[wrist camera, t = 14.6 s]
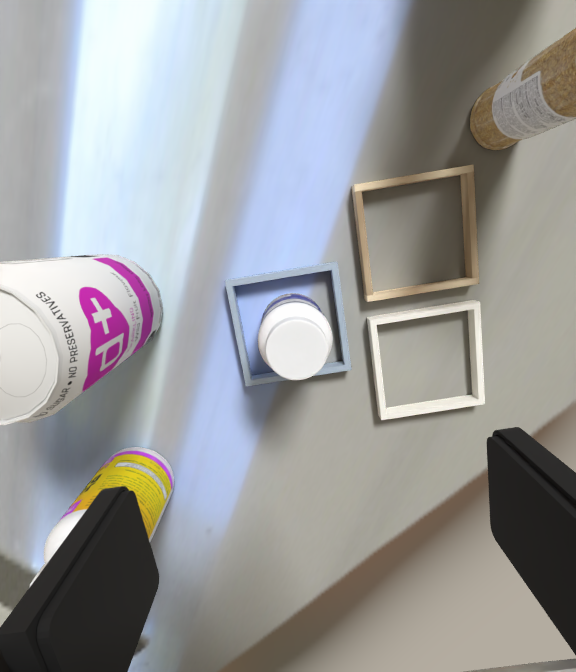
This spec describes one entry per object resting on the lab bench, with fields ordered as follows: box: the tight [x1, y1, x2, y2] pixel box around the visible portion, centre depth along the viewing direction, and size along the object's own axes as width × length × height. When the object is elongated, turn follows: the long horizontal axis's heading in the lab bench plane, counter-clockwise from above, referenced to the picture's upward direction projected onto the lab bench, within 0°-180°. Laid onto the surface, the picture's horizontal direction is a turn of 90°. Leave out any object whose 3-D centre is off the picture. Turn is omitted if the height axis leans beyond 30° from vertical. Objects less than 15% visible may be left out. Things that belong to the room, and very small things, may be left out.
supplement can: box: [0, 254, 163, 425], centre depth 25 cm, size 8×8×15 cm
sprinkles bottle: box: [470, 28, 576, 150], centre depth 23 cm, size 5×5×14 cm
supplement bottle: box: [29, 447, 174, 588], centre depth 30 cm, size 7×7×13 cm
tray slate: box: [225, 262, 351, 387], centre depth 33 cm, size 9×9×1 cm
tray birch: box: [351, 164, 479, 302], centre depth 31 cm, size 9×9×1 cm
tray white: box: [367, 300, 485, 420], centre depth 34 cm, size 9×9×1 cm
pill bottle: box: [258, 293, 333, 380], centre depth 29 cm, size 5×5×9 cm
